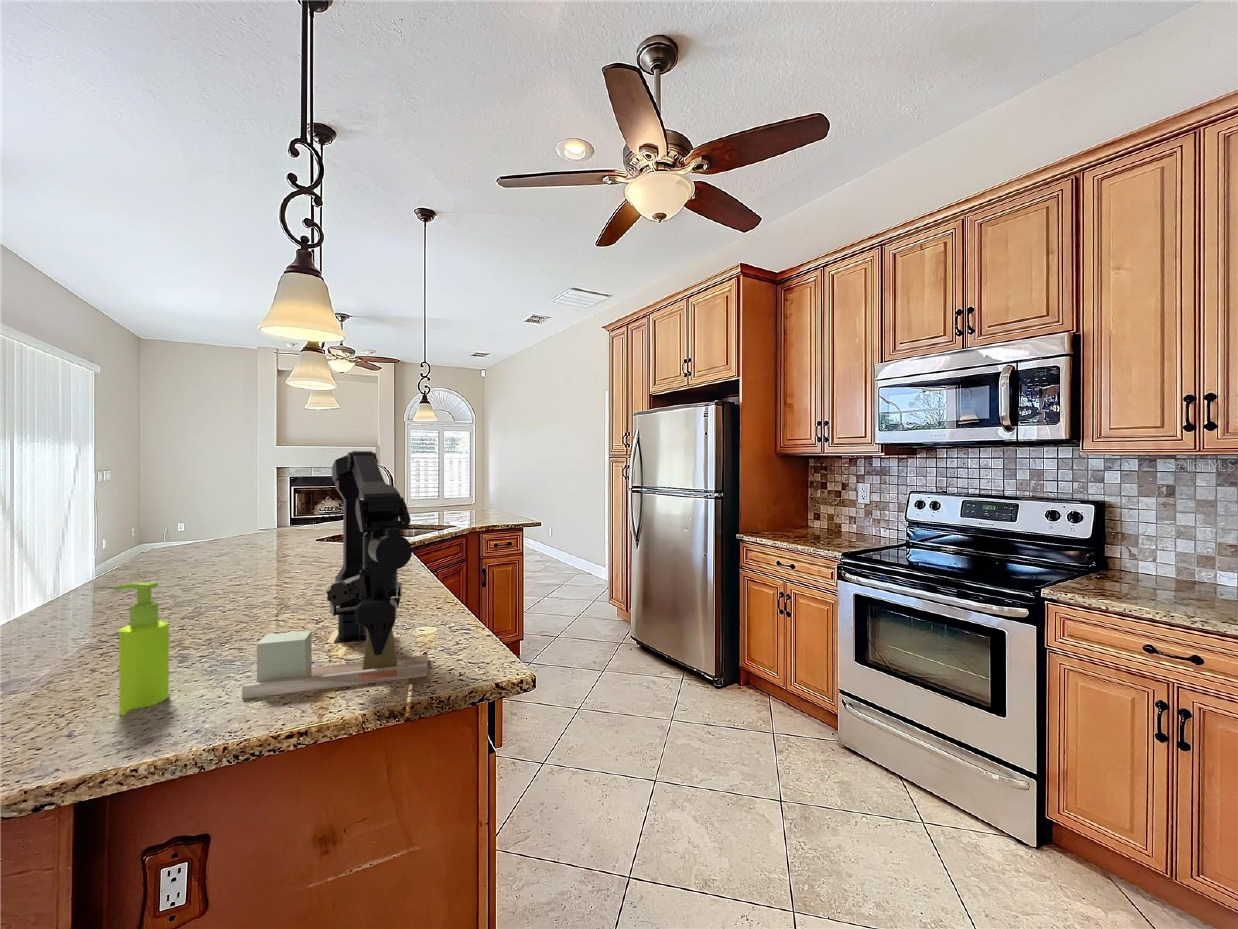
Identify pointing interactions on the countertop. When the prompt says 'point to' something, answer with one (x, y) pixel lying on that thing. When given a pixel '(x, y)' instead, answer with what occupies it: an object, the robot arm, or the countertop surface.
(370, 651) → the cork
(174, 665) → the countertop surface
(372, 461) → the robot arm
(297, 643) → the sage tin
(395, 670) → the shelf board
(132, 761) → the countertop surface
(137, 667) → the soap dispenser
